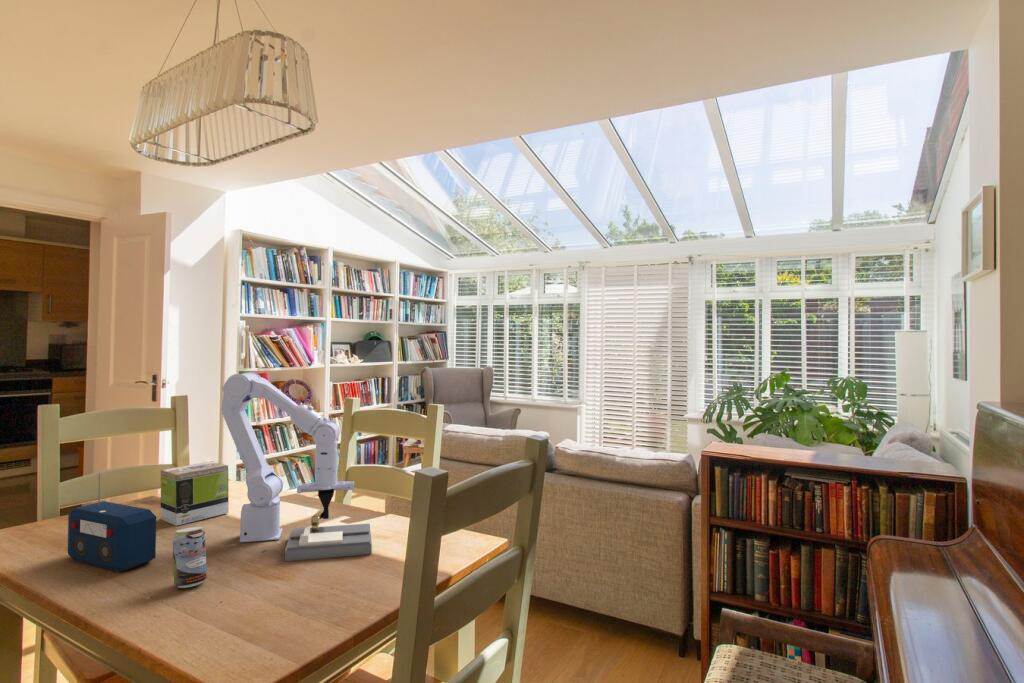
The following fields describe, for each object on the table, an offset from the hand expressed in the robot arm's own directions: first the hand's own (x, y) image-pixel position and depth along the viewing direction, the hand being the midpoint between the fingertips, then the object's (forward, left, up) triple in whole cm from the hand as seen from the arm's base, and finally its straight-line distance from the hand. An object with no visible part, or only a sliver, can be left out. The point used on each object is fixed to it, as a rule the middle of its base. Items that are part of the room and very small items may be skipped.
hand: (325, 517), depth 150 cm
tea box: (-38, +25, -5) cm, 45 cm away
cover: (-1, -12, -2) cm, 12 cm away
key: (-2, -1, -2) cm, 3 cm away
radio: (-48, -7, -5) cm, 48 cm away
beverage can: (-27, -25, -5) cm, 37 cm away
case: (+1, -8, -5) cm, 9 cm away
